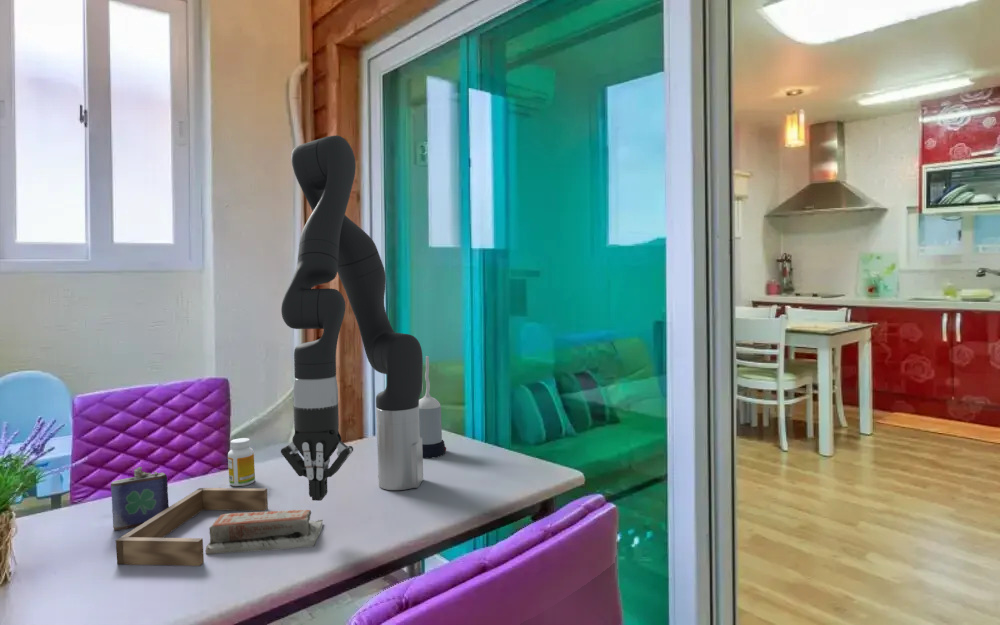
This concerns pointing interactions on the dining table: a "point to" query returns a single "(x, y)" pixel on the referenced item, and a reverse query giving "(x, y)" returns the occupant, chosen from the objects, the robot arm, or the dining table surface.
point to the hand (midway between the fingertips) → (318, 499)
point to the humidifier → (430, 422)
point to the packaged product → (263, 531)
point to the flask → (138, 498)
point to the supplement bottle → (241, 463)
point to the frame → (148, 537)
